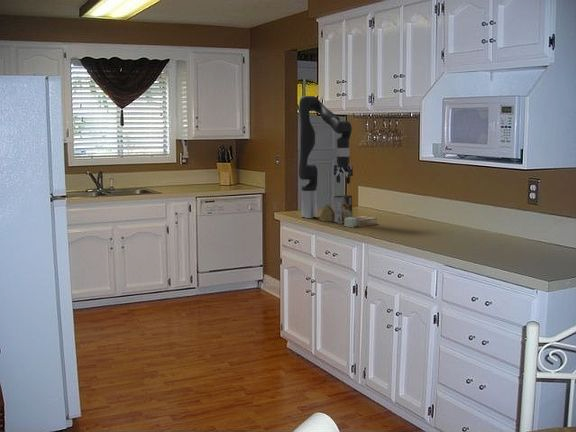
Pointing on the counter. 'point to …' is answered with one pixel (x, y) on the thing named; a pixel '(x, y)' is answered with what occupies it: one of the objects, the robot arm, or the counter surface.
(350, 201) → the coffee box
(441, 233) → the counter surface
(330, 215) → the rock
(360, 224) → the oak block
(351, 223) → the sage cube
